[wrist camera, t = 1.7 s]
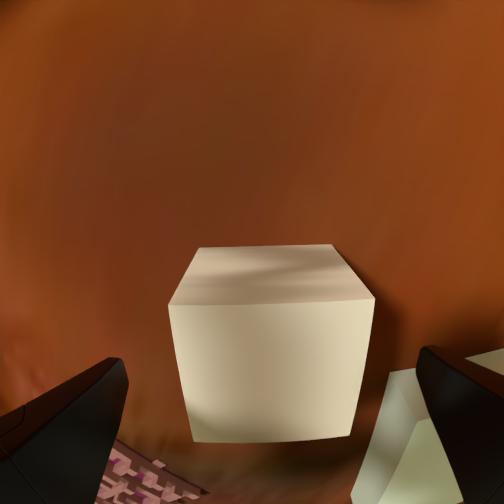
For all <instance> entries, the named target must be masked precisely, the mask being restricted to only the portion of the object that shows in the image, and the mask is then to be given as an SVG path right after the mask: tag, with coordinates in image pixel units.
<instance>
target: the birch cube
mask: <svg viewBox="0 0 504 504" xmlns="http://www.w3.org/2000/svg"><path fill="white" fill-rule="evenodd" d="M374 305H375V298H374V296H373V295H372V294H371V293H370V291H369V290H368V289H367V288H366V286H365V285H364V284H363V283H362V281H361V280H360V279H359V278H358V276H357V275H356V274H355V273H354V271H353V270H352V269H351V268H350V267H349V265H348V264H347V263H346V262H345V261H344V259H343V258H342V257H341V256H340V254H339V253H338V252H337V251H336V250H335V248H334V247H333V246H332V245H331V244H325V245H287V246H250V247H216V248H199V249H198V251H197V253H196V255H195V256H194V258H193V260H192V262H191V264H190V266H189V267H188V269H187V271H186V273H185V275H184V277H183V278H182V280H181V282H180V284H179V286H178V288H177V290H176V291H175V293H174V295H173V297H172V299H171V301H170V303H169V305H168V308H169V315H170V322H171V328H172V334H173V340H174V346H175V352H176V358H177V363H178V369H179V374H180V379H181V385H182V390H183V395H184V399H185V404H186V409H187V414H188V418H189V423H190V427H191V431H192V436H193V440H194V442H210V443H268V442H289V441H303V440H314V439H324V438H333V437H341V436H349V435H350V431H351V427H352V423H353V419H354V415H355V410H356V406H357V402H358V397H359V392H360V388H361V383H362V378H363V373H364V367H365V362H366V357H367V351H368V345H369V339H370V333H371V326H372V319H373V312H374Z"/></svg>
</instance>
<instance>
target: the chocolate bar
mask: <svg viewBox="0 0 504 504" xmlns="http://www.w3.org/2000/svg"><path fill="white" fill-rule="evenodd" d="M164 466H166V463H164V462H162V461H161V460H159V459H157V460H155V461H153V462H151V461H150V460H148V459H146V458H145V457H143V456H141V455H140V454H138V453H137V452H135V451H134V450H132V449H130V448H129V447H127V446H126V445H124V444H123V443H121V442H120V441H118V440H117V439H115V442H114V445H113V448H112V450H111V453H110V456H109V460H108V463H107V466H106V469H105V472H104V475H103V478H102V481H101V485H100V488H99V491H98V494H97V498H96V501H95V504H177V499H179V498H182V497H184V496H187V497H189V498H191V499H193V500H194V499H196V498H199V497H200V491H201V488H199V487H197V486H195V485H193V484H191V483H189V482H187V481H185V480H183V479H181V478H179V477H177V476H176V475H174V474H172V473H170V472H168V471H167V470H165V469H163V468H162V467H164Z"/></svg>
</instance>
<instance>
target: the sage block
mask: <svg viewBox="0 0 504 504" xmlns="http://www.w3.org/2000/svg"><path fill="white" fill-rule="evenodd" d="M465 359H468V360H470V361H472V362H474V363H477V364H479V365H481V366H484V367H486V368H488V369H491V370H493V371H495V372H497V373H500V374H502V375H504V348H502V349H499V350H495V351H491V352H487V353H483V354H479V355H475V356H471V357H467V358H465ZM415 370H416V368H413V369H407V370H401V371H394V372H390V373H389V377H388V381H387V385H386V389H385V393H384V397H383V400H382V404H381V408H380V411H379V415H378V418H377V421H376V425H375V428H374V431H373V434H372V437H371V440H370V443H369V446H368V449H367V452H366V455H365V458H364V461H363V464H362V466H361V469H360V472H359V474H358V477H357V480H356V482H355V485H354V487H353V490H352V492H351V498H352V502H353V504H457V503H460V502H462V501H463V498H462V495H461V492H460V489H459V487H458V484H457V481H456V479H455V476H454V474H453V471H452V468H451V466H450V463H449V461H448V458H447V456H446V453H445V451H444V448H443V446H442V444H441V441H440V439H439V437H438V434H437V432H436V430H435V427H434V425H433V423H432V420H431V418H430V416H429V413H428V410H427V408H426V404H425V401H424V398H423V395H422V392H421V389H420V386H419V383H418V380H417V377H416V373H415Z"/></svg>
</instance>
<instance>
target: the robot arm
mask: <svg viewBox="0 0 504 504" xmlns="http://www.w3.org/2000/svg"><path fill="white" fill-rule="evenodd" d="M415 373H416V377H417V380H418V383H419V386H420V389H421V392H422V395H423V398H424V401H425V404H426V408H427V410H428V413H429V416H430V418H431V420H432V423H433V425H434V427H435V430H436V432H437V434H438V437H439V439H440V441H441V444H442V446H443V448H444V451H445V453H446V456H447V458H448V461H449V463H450V466H451V468H452V471H453V474H454V476H455V479H456V481H457V484H458V487H459V489H460V492H461V495H462V498H463V501H464V503H465V504H504V375H502V374H500V373H497V372H495V371H493V370H491V369H488V368H486V367H484V366H481V365H479V364H477V363H474V362H472V361H470V360H468V359H465V358H463V357H461V356H458V355H456V354H454V353H452V352H449V351H447V350H445V349H443V348H440V347H438V346H436V345H428V346H423V347H422V348H421V350H420V354H419V357H418V361H417V365H416V370H415ZM128 387H129V381H128V377H127V373H126V370H125V366H124V363H123V361H122V359H121V358H114V357H108V358H106V359H105V360H103V361H101V362H99V363H98V364H96V365H94V366H92V367H91V368H89V369H87V370H85V371H84V372H82V373H80V374H78V375H76V376H75V377H73V378H71V379H69V380H68V381H66V382H64V383H62V384H60V385H59V386H57V387H55V388H53V389H51V390H50V391H48V392H46V393H44V394H42V395H41V396H39V397H37V398H35V399H33V400H32V401H30V402H28V403H26V405H22V406H20V407H19V408H17V409H15V410H13V411H11V412H9V413H7V414H5V415H3V416H1V417H0V504H95V501H96V498H97V494H98V491H99V488H100V485H101V481H102V478H103V475H104V472H105V469H106V466H107V463H108V460H109V456H110V453H111V450H112V448H113V445H114V442H115V439H116V436H117V433H118V430H119V426H120V422H121V418H122V413H123V409H124V404H125V400H126V395H127V391H128Z"/></svg>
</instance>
